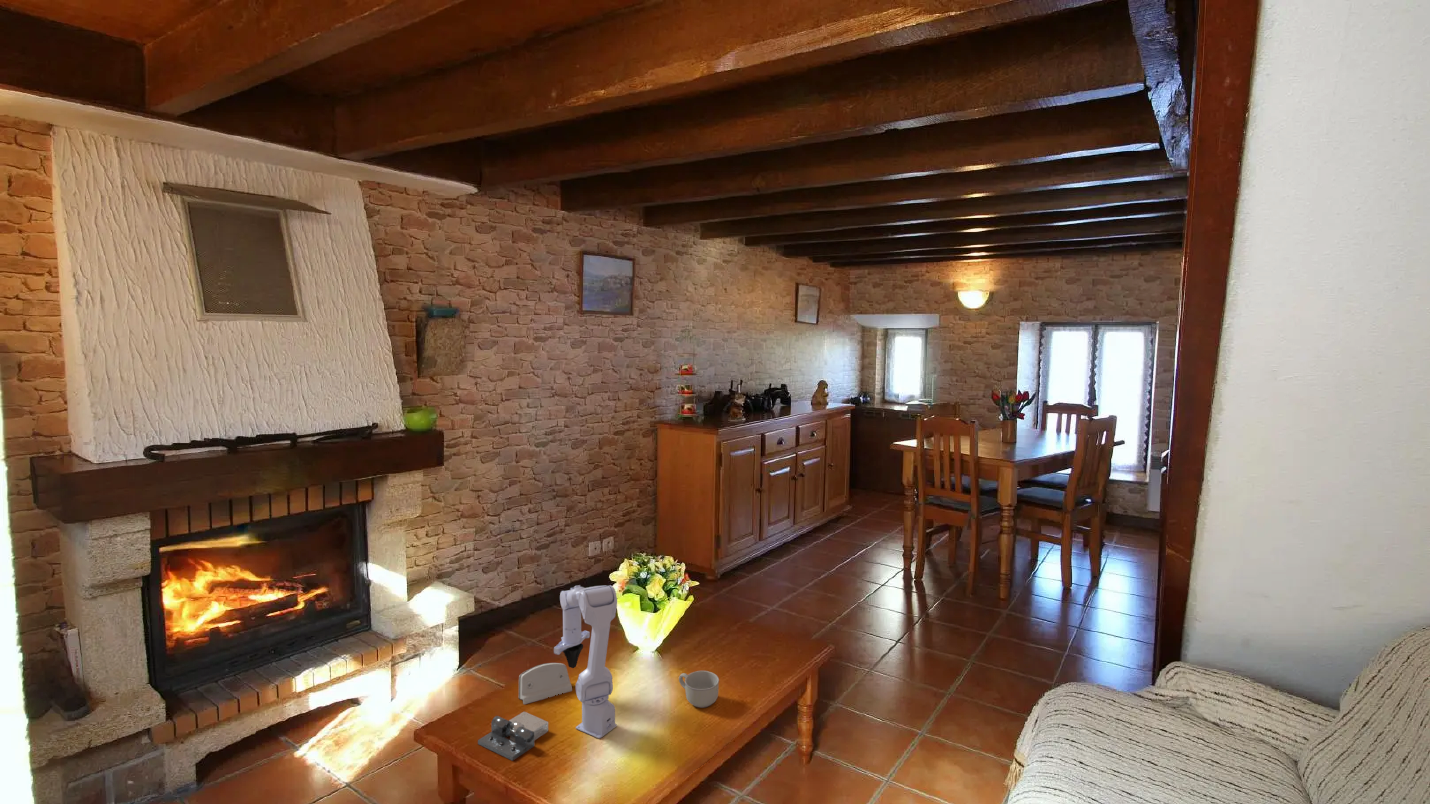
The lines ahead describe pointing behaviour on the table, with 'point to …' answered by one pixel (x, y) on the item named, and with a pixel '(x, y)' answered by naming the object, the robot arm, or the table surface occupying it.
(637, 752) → the table surface
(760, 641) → the table surface
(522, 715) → the grey boxy piece
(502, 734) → the fixed leaf
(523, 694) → the grey rounded slab
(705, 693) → the teacup
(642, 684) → the table surface
